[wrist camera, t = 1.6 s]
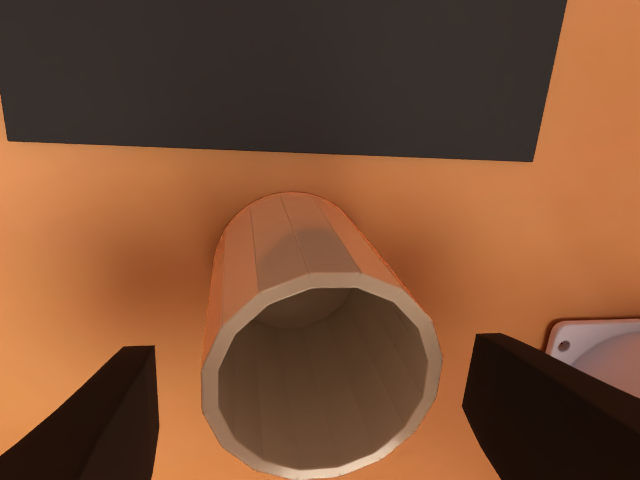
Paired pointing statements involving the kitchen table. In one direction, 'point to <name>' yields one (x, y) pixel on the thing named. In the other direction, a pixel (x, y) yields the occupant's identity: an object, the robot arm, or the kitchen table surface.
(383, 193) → the kitchen table surface
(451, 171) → the kitchen table surface
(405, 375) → the cream cup
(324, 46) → the placemat
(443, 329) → the kitchen table surface
